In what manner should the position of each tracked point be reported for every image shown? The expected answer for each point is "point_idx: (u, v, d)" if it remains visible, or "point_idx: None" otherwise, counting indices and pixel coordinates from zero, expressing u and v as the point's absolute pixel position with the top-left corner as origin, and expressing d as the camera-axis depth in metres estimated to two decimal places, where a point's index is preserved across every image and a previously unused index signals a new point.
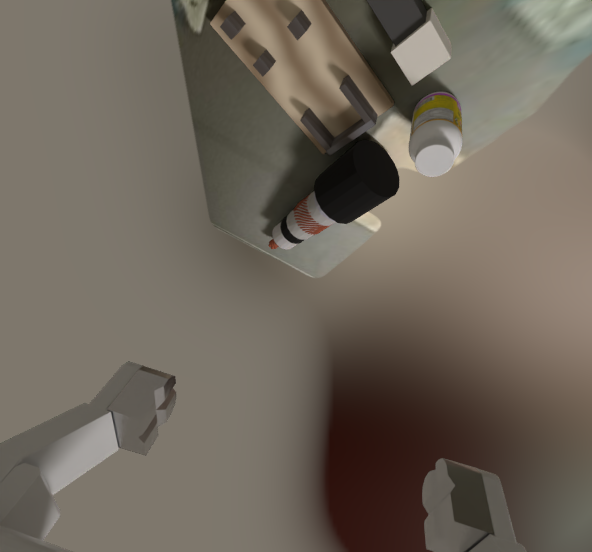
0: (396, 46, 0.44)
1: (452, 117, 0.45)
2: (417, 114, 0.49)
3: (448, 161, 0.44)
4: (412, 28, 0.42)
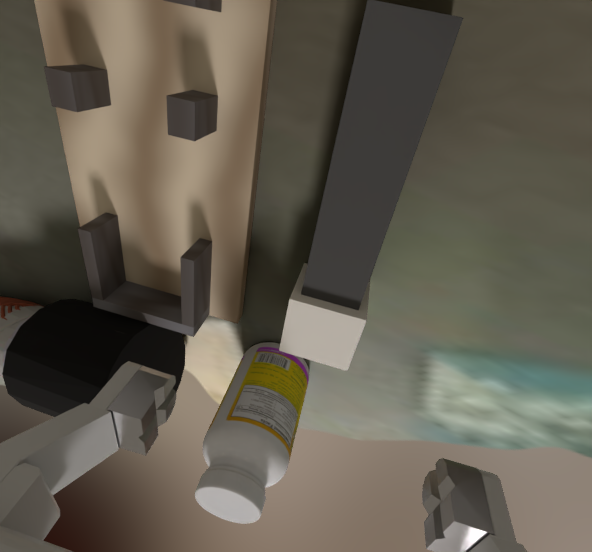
0: (302, 297, 0.24)
1: (292, 434, 0.27)
2: (256, 375, 0.29)
3: (244, 518, 0.24)
4: (338, 300, 0.23)
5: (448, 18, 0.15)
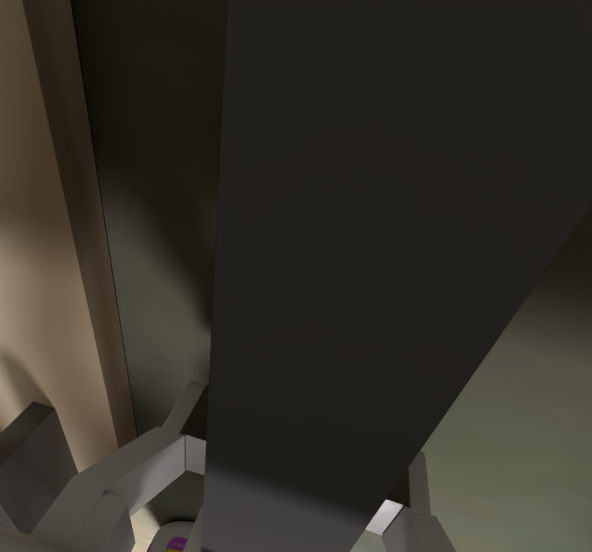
0: None
1: None
2: None
3: None
4: None
5: None
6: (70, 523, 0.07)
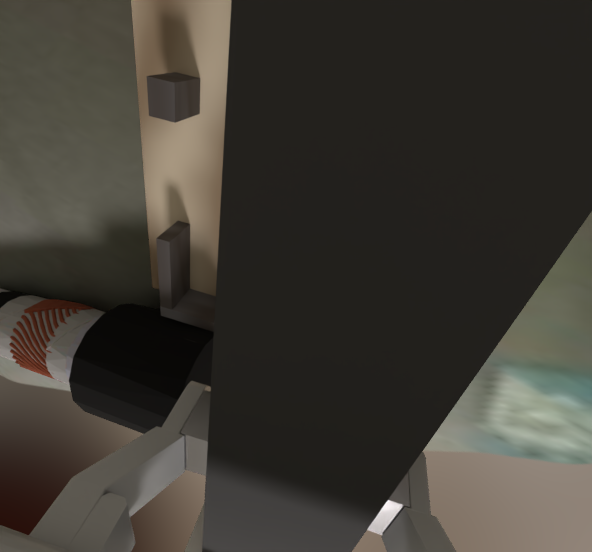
0: None
1: None
2: None
3: None
4: None
5: None
6: (70, 523, 0.07)
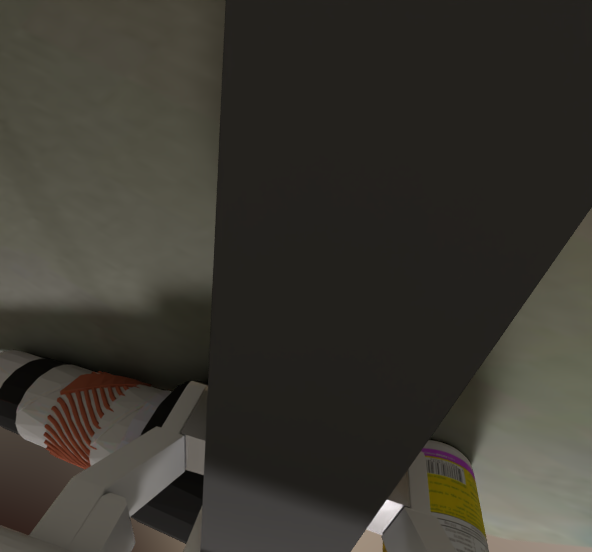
0: None
1: None
2: (435, 496, 0.23)
3: None
4: None
5: None
6: (70, 523, 0.07)
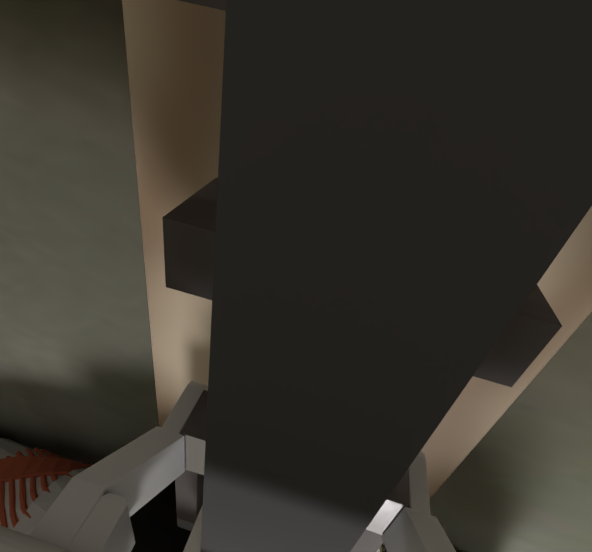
0: None
1: None
2: None
3: None
4: None
5: None
6: (70, 523, 0.07)
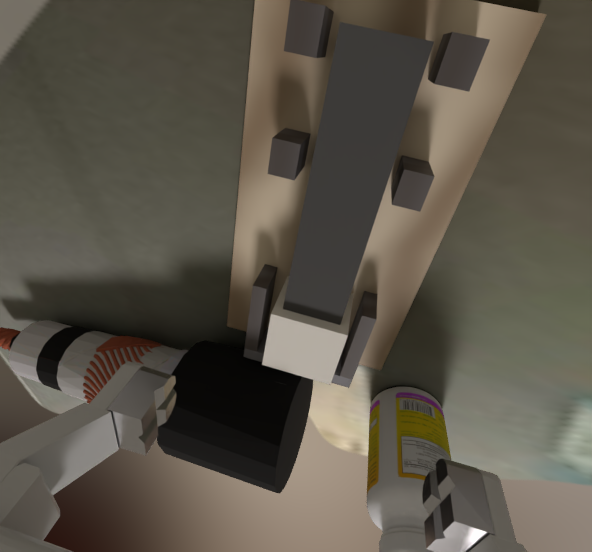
0: (283, 312, 0.24)
1: None
2: (409, 425, 0.29)
3: None
4: (320, 315, 0.23)
5: (419, 42, 0.15)
6: None
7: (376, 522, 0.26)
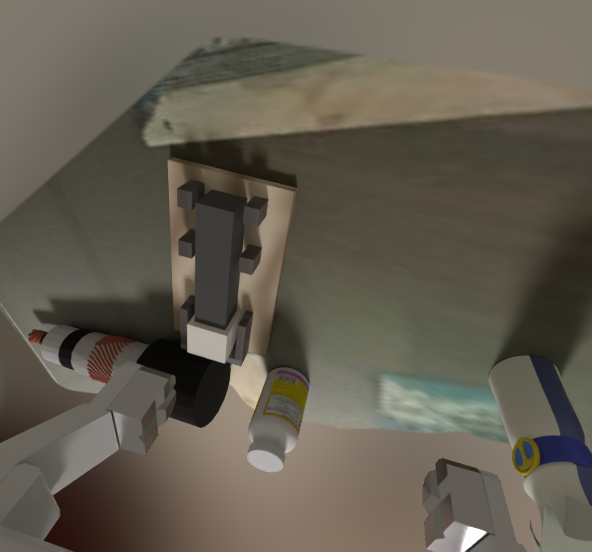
0: (194, 323, 0.44)
1: (299, 423, 0.47)
2: (277, 388, 0.49)
3: (274, 468, 0.44)
4: (213, 324, 0.44)
5: (228, 212, 0.35)
6: None
7: (252, 441, 0.46)
